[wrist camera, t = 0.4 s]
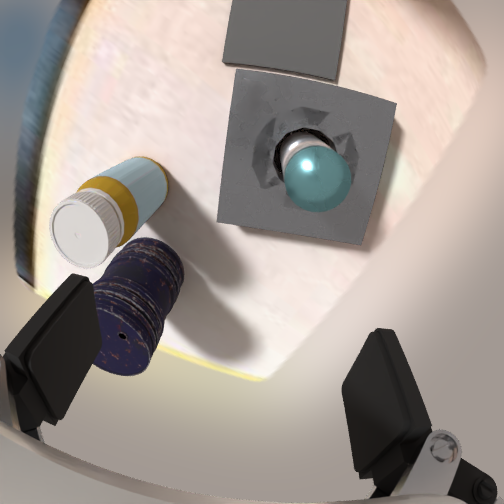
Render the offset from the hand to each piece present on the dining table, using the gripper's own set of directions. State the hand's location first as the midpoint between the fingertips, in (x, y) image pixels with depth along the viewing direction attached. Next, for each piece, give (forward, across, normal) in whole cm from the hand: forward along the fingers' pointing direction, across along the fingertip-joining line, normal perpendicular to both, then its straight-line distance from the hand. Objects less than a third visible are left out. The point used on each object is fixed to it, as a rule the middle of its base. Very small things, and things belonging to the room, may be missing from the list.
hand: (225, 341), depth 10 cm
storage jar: (+27, +12, +16) cm, 34 cm away
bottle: (+27, +13, +4) cm, 30 cm away
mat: (+26, 0, -18) cm, 32 cm away
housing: (+27, -4, -3) cm, 27 cm away
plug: (+27, -4, -3) cm, 27 cm away
